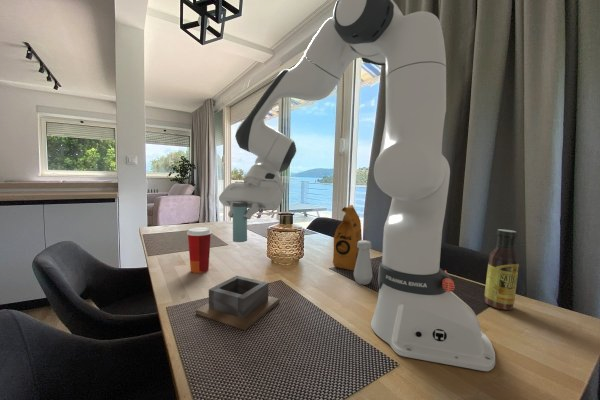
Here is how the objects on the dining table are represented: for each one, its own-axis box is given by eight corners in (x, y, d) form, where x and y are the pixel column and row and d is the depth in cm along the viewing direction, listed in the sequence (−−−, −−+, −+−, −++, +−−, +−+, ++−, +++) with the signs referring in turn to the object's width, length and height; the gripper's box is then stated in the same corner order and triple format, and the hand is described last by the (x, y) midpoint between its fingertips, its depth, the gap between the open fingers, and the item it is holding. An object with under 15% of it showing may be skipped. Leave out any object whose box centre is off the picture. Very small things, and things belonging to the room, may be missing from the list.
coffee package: (328, 267, 95) (330, 206, 94) (339, 258, 106) (341, 203, 105) (355, 272, 91) (357, 208, 89) (364, 262, 102) (366, 205, 100)
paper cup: (211, 265, 94) (211, 226, 93) (211, 273, 87) (211, 231, 85) (187, 267, 91) (187, 227, 90) (185, 275, 84) (185, 232, 83)
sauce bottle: (499, 312, 65) (506, 233, 63) (477, 300, 71) (484, 228, 70) (521, 310, 66) (529, 232, 65) (498, 299, 73) (504, 227, 71)
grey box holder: (279, 302, 68) (279, 281, 67) (245, 330, 55) (245, 304, 54) (235, 291, 74) (235, 271, 73) (195, 313, 61) (195, 290, 61)
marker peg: (249, 240, 77) (249, 202, 76) (241, 242, 73) (241, 203, 73) (238, 238, 79) (238, 201, 78) (229, 241, 75) (229, 202, 74)
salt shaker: (372, 286, 79) (374, 244, 78) (353, 284, 80) (355, 242, 79) (371, 279, 84) (373, 239, 83) (353, 277, 86) (354, 238, 84)
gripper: (227, 174, 85) (205, 207, 77) (282, 175, 76) (263, 212, 68) (236, 188, 90) (216, 220, 82) (290, 190, 81) (272, 227, 73)
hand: (238, 217), depth 75 cm, fingers closed on marker peg, 4 cm apart
